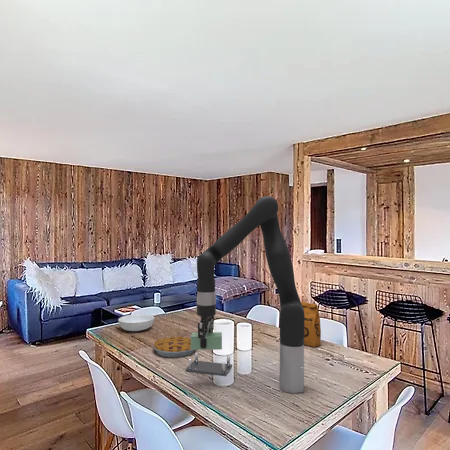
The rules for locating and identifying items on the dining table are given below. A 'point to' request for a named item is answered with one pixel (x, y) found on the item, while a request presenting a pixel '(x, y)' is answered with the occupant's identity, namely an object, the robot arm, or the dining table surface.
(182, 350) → the pie
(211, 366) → the chassis
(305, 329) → the coffee package
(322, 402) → the dining table surface
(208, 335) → the board
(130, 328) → the serving bowl
